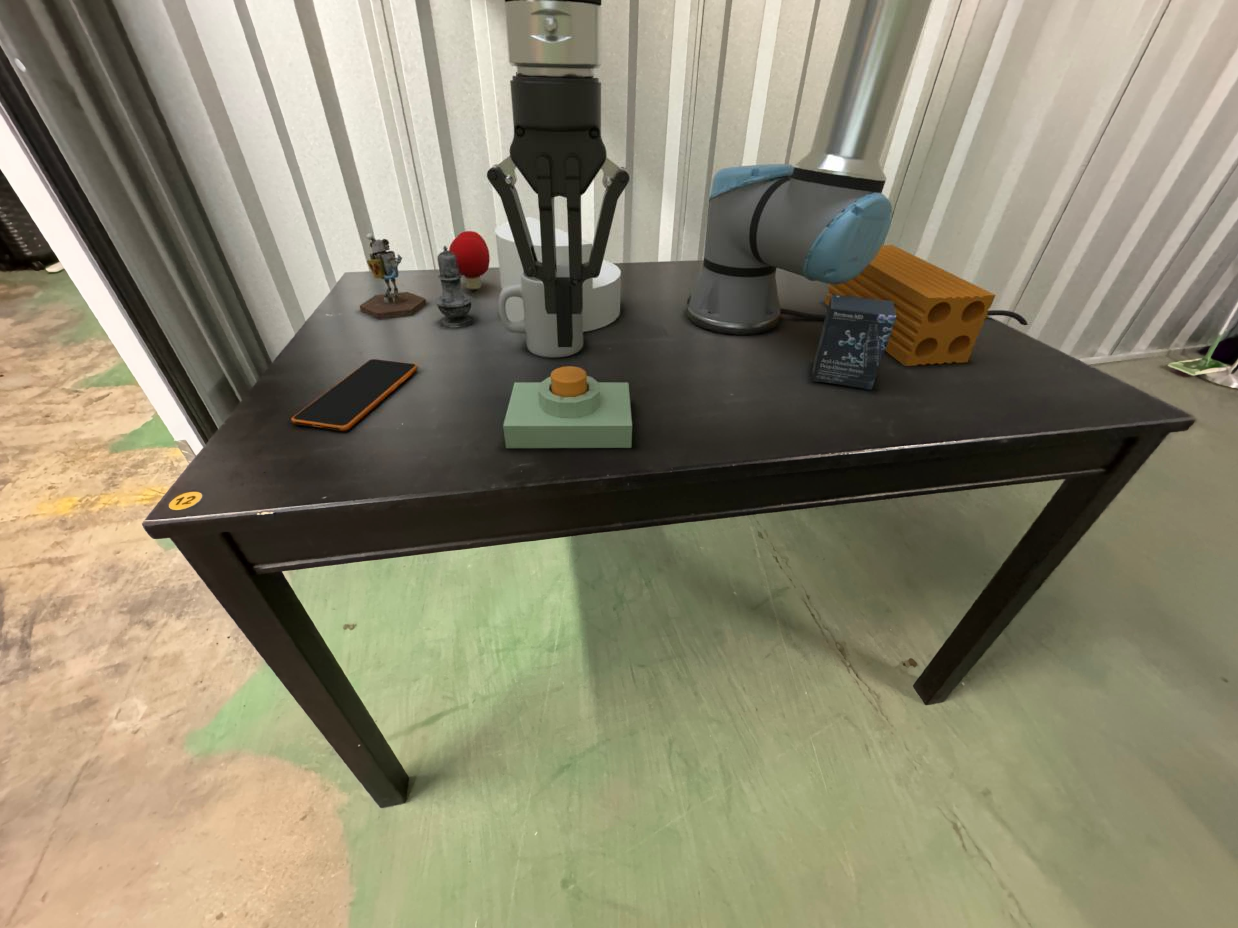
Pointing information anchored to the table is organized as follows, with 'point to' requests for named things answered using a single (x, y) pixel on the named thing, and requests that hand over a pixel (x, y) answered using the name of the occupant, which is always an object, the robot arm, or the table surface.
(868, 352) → the box
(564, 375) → the orange push button
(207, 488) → the table surface
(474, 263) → the red mushroom
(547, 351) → the mug
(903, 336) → the brick
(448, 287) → the salt shaker
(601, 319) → the container
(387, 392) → the smartphone
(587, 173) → the robot arm
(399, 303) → the robot figurine
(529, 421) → the green button housing
